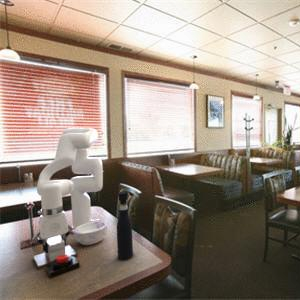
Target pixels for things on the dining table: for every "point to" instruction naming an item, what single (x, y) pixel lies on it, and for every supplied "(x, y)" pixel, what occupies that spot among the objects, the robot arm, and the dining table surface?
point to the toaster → (55, 247)
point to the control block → (62, 266)
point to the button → (62, 258)
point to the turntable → (43, 260)
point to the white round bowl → (90, 233)
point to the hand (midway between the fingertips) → (54, 249)
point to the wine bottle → (124, 230)
